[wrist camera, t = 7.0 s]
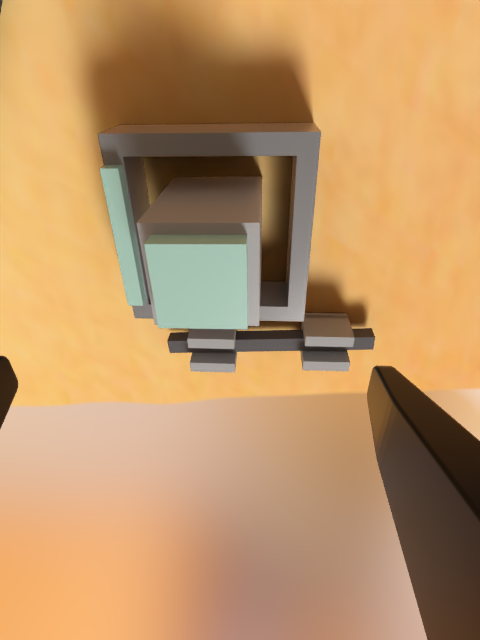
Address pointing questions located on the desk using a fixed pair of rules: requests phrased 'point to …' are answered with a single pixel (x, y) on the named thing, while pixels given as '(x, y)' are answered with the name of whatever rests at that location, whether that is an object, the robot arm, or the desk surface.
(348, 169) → the desk surface
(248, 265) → the block
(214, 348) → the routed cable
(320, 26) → the desk surface
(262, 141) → the frame
